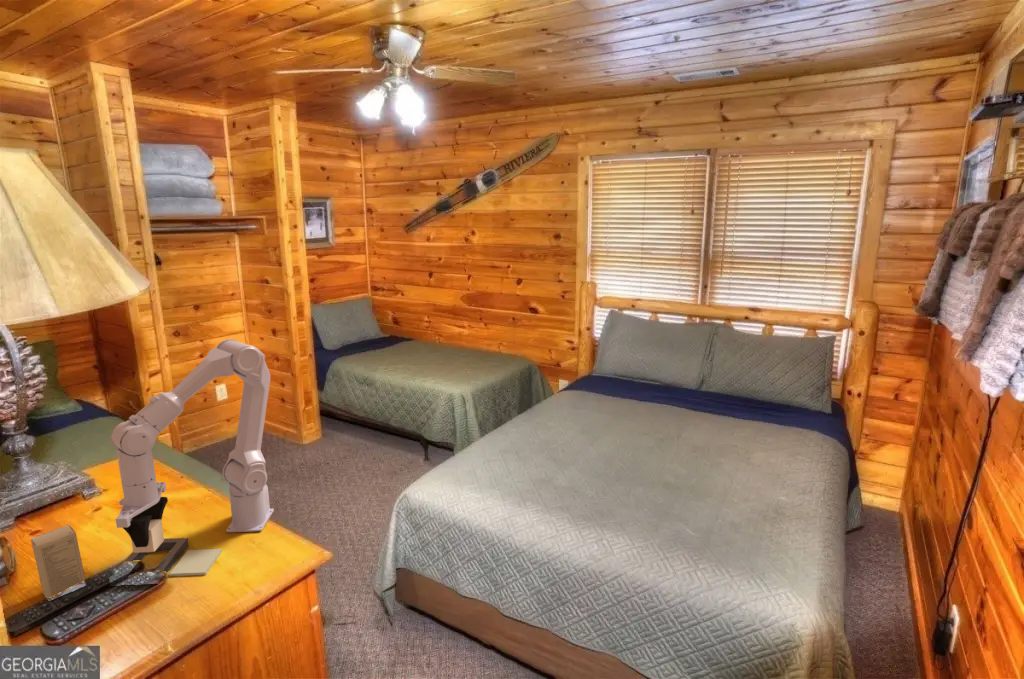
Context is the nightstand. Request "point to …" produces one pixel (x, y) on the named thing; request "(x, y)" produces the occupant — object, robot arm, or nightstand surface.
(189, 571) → the tile
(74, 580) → the skincare box
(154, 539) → the peg
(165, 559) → the dark brown rectangular frame
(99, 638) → the nightstand surface
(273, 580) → the nightstand surface
